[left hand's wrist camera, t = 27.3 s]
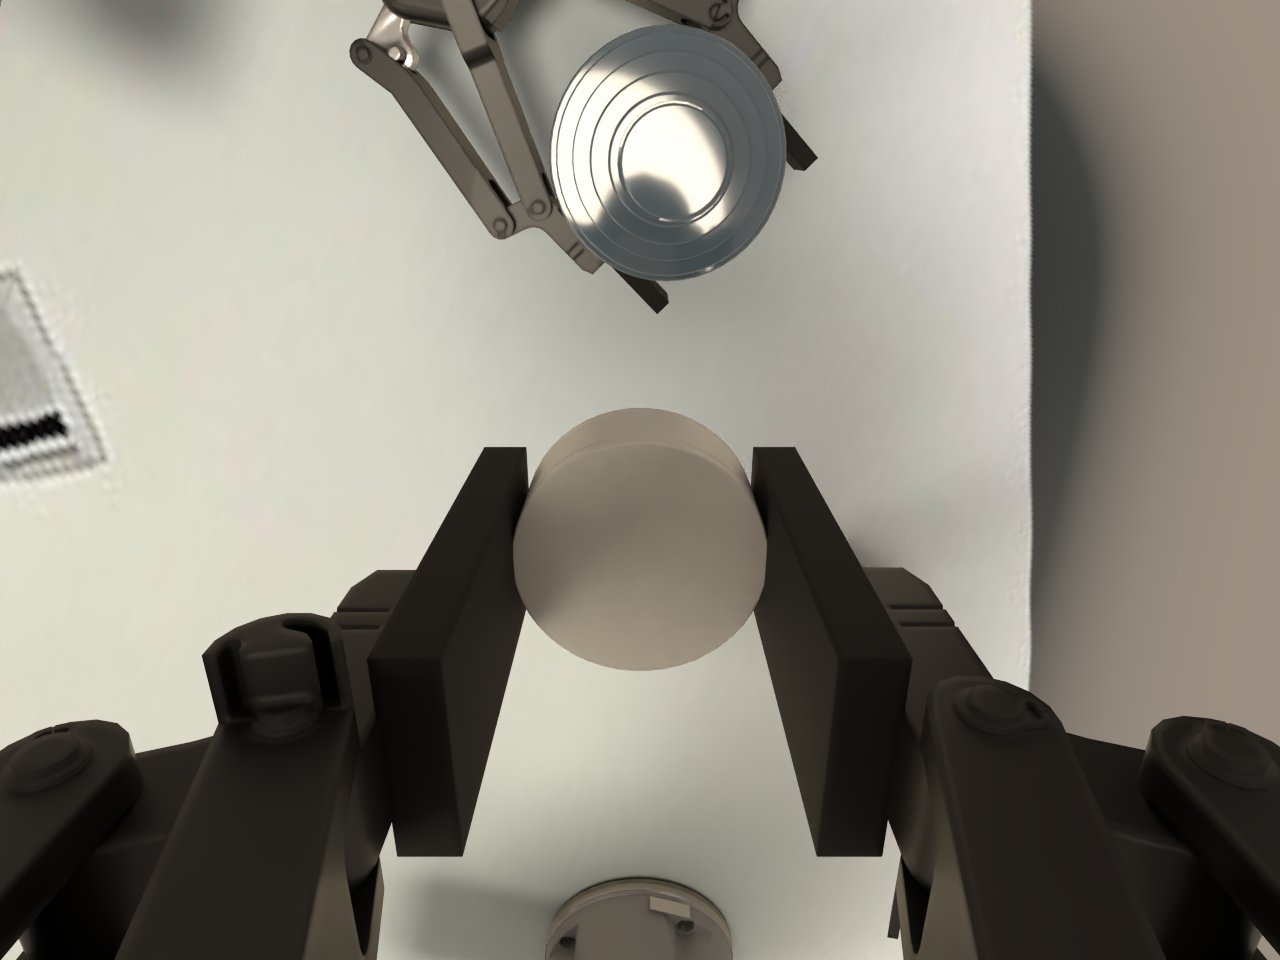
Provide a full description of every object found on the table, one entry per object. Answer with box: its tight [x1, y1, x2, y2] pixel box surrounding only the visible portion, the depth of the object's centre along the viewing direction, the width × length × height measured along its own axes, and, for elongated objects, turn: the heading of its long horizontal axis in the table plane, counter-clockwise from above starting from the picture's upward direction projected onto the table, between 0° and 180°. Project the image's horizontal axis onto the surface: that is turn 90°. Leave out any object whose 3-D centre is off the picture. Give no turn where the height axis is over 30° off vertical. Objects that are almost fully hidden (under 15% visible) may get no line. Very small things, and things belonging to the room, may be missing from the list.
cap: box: [513, 408, 767, 671], centre depth 13 cm, size 4×4×2 cm
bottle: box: [550, 24, 786, 281], centre depth 31 cm, size 8×8×22 cm
